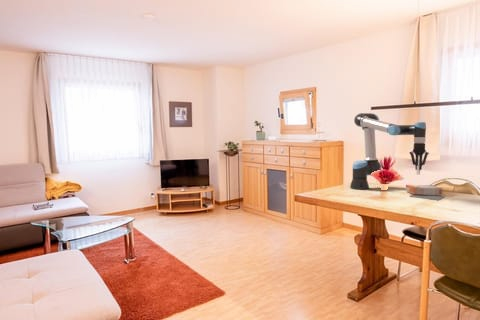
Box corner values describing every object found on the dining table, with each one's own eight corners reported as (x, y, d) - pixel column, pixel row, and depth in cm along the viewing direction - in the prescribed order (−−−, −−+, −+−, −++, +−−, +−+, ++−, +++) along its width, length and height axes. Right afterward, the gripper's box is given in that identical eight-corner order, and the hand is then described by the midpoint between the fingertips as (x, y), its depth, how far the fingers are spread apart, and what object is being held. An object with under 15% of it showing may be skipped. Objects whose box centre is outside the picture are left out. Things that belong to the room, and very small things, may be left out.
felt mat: (409, 196, 236) (409, 196, 236) (416, 193, 247) (416, 193, 247) (438, 200, 222) (438, 199, 222) (444, 197, 233) (444, 196, 233)
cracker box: (414, 195, 239) (442, 195, 238) (414, 187, 238) (442, 187, 238) (405, 191, 253) (431, 192, 252) (405, 184, 252) (432, 184, 252)
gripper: (408, 142, 238) (407, 173, 240) (427, 143, 229) (426, 175, 231) (411, 142, 243) (410, 173, 245) (430, 142, 234) (429, 174, 236)
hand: (418, 174), depth 238 cm, fingers closed
